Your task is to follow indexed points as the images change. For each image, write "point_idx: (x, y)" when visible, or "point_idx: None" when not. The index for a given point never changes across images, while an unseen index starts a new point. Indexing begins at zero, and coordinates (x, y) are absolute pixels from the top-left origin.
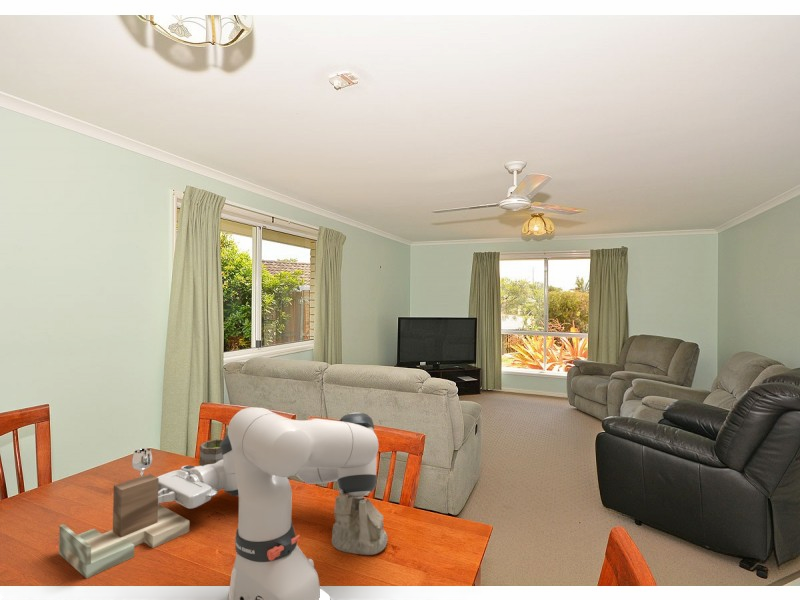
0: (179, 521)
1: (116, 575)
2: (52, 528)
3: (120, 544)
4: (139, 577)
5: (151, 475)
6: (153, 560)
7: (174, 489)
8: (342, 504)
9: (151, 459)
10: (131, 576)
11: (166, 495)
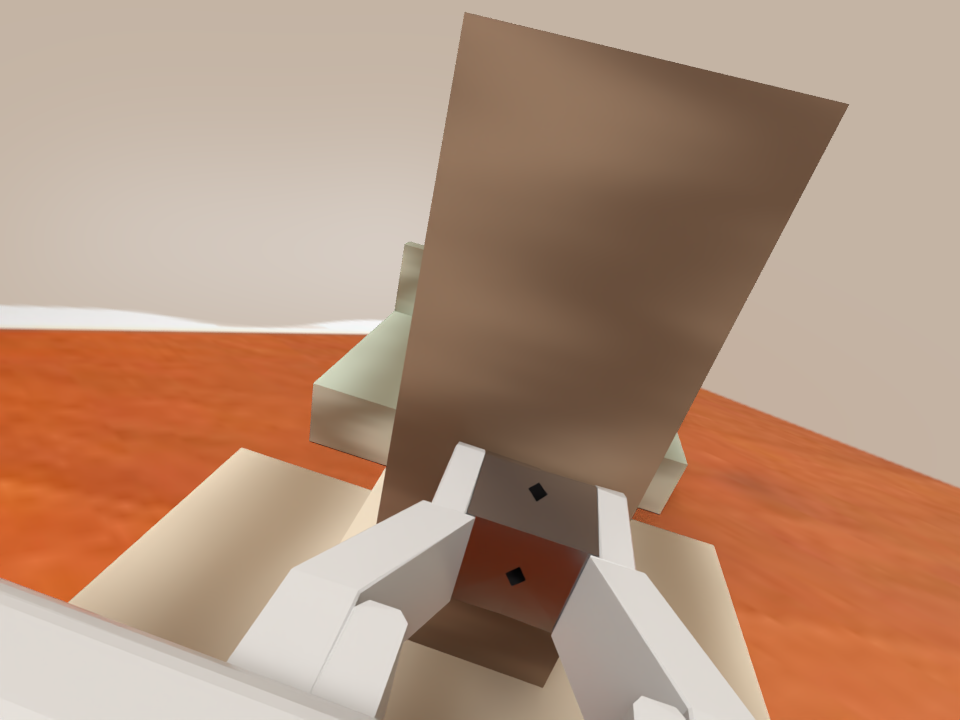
0: None
1: (293, 361)
2: (939, 550)
3: (393, 380)
4: (175, 355)
5: (724, 79)
6: (166, 432)
7: (273, 683)
8: None
9: None
10: (219, 358)
11: (372, 533)
